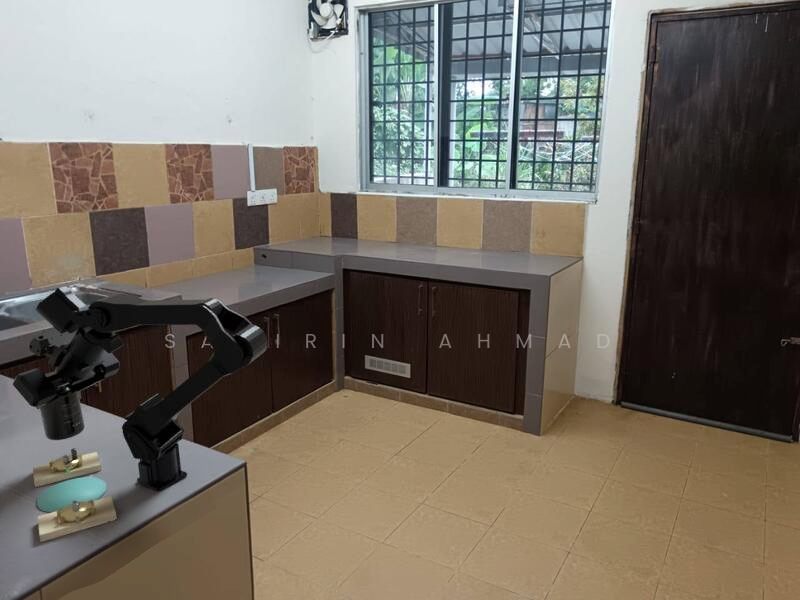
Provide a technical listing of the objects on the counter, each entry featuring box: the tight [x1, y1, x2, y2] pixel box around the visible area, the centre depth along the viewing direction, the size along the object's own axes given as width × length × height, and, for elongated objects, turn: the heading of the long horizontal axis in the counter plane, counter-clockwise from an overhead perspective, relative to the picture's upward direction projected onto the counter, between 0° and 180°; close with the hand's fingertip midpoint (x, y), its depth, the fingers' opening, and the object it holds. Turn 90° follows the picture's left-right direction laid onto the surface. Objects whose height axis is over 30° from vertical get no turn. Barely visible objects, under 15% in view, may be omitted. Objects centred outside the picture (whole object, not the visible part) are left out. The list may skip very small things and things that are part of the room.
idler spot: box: [36, 476, 107, 513], centre depth 109 cm, size 11×11×1 cm
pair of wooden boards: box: [32, 451, 118, 543], centre depth 109 cm, size 25×11×1 cm, turn 32°
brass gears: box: [49, 447, 96, 525], centre depth 108 cm, size 25×6×3 cm, turn 32°
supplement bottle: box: [39, 371, 86, 441], centre depth 117 cm, size 7×7×12 cm
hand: (53, 400), depth 117 cm, fingers closed on supplement bottle, 7 cm apart
